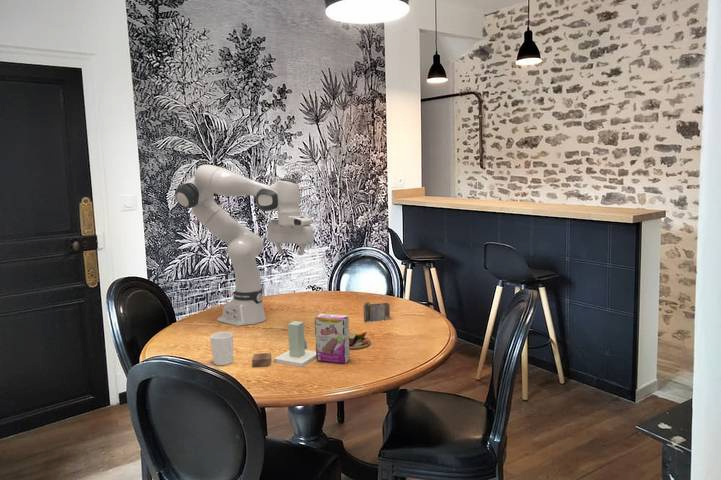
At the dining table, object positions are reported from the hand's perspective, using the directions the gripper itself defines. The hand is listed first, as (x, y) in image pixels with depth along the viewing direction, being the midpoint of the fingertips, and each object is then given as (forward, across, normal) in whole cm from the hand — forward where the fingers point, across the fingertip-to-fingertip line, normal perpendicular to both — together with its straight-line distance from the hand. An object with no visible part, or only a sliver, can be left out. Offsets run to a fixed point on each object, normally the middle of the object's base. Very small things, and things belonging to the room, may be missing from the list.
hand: (290, 254), depth 211 cm
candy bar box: (+34, +28, -18) cm, 48 cm away
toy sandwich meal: (+34, +27, 0) cm, 44 cm away
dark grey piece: (+34, +22, +33) cm, 52 cm away
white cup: (+34, -8, -34) cm, 49 cm away
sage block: (+33, +15, -21) cm, 42 cm away
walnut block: (+34, +6, -30) cm, 46 cm away
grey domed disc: (+34, +9, -11) cm, 37 cm away
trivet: (+34, +15, -21) cm, 43 cm away
